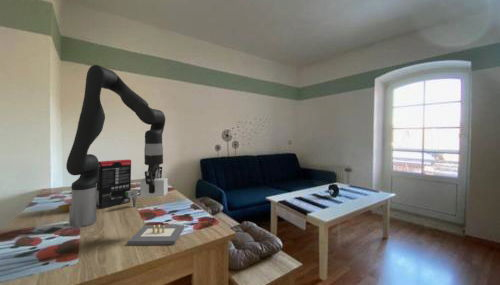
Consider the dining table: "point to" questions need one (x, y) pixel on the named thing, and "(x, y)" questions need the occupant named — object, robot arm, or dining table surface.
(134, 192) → the mechanical component
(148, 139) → the robot arm
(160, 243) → the header board
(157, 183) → the plug housing
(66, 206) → the sunglasses
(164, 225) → the brass pins
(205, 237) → the dining table surface
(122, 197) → the graphics card box
